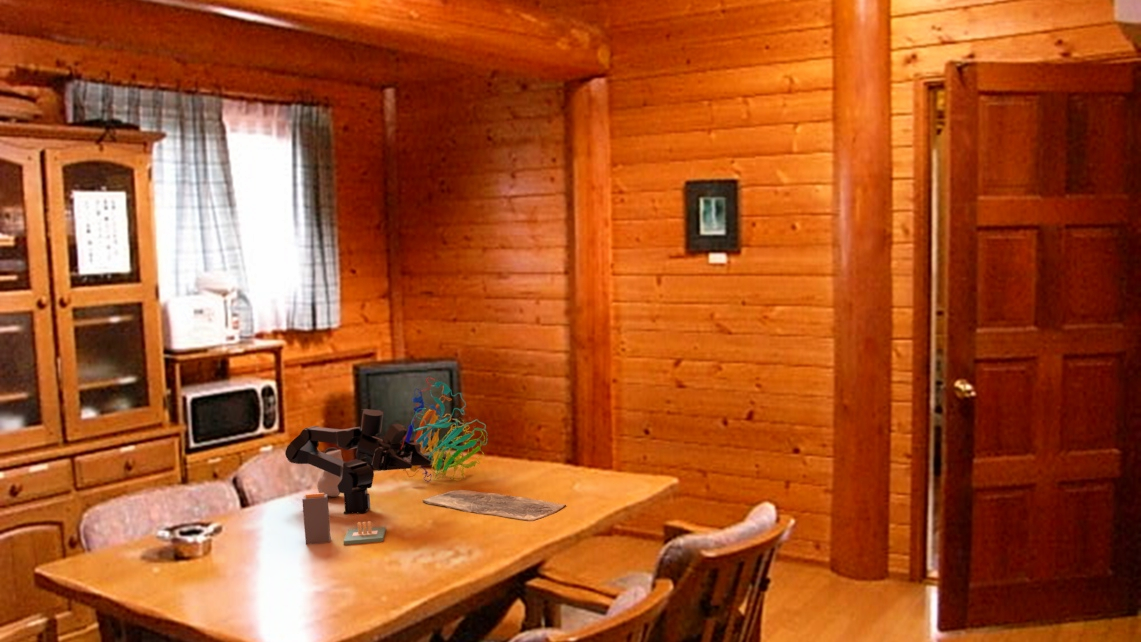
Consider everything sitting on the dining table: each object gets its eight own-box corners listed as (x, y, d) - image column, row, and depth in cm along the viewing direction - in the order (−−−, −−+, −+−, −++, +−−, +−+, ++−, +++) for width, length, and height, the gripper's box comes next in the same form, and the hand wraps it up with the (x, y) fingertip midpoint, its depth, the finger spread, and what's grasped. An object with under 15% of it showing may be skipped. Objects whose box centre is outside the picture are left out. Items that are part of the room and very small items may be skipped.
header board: (348, 533, 271) (347, 518, 271) (385, 529, 272) (384, 515, 272) (343, 544, 260) (342, 529, 260) (382, 541, 261) (381, 526, 261)
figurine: (352, 493, 317) (349, 446, 315) (329, 501, 308) (325, 453, 307) (333, 491, 321) (329, 445, 320) (309, 499, 313) (305, 451, 312)
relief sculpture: (529, 522, 271) (529, 519, 271) (416, 502, 300) (416, 499, 300) (573, 507, 286) (573, 504, 286) (461, 489, 315) (461, 486, 315)
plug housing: (307, 540, 266) (304, 493, 265) (330, 538, 266) (327, 491, 266) (305, 544, 262) (302, 496, 262) (329, 542, 263) (325, 494, 262)
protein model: (514, 398, 338) (443, 362, 320) (499, 490, 323) (423, 459, 305) (457, 416, 358) (387, 383, 341) (440, 504, 343) (366, 475, 325)
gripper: (362, 423, 278) (407, 439, 272) (402, 419, 295) (445, 434, 288) (354, 462, 279) (399, 479, 272) (394, 455, 296) (437, 471, 289)
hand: (421, 464), depth 281 cm, fingers open, 9 cm apart
